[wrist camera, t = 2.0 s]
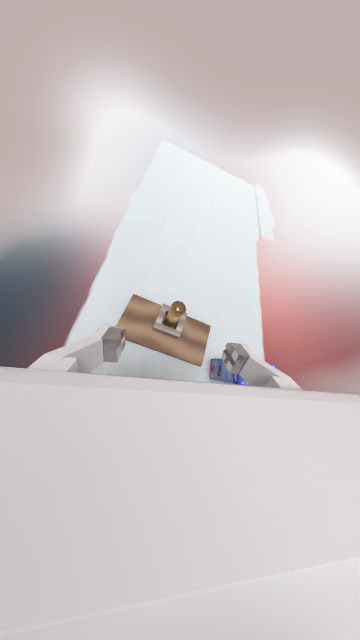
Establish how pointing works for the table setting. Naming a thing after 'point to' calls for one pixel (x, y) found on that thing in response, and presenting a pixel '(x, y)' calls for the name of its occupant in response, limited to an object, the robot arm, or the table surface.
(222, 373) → the ink cartridge box
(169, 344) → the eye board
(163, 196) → the table surface
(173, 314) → the brass copper-topped peg
